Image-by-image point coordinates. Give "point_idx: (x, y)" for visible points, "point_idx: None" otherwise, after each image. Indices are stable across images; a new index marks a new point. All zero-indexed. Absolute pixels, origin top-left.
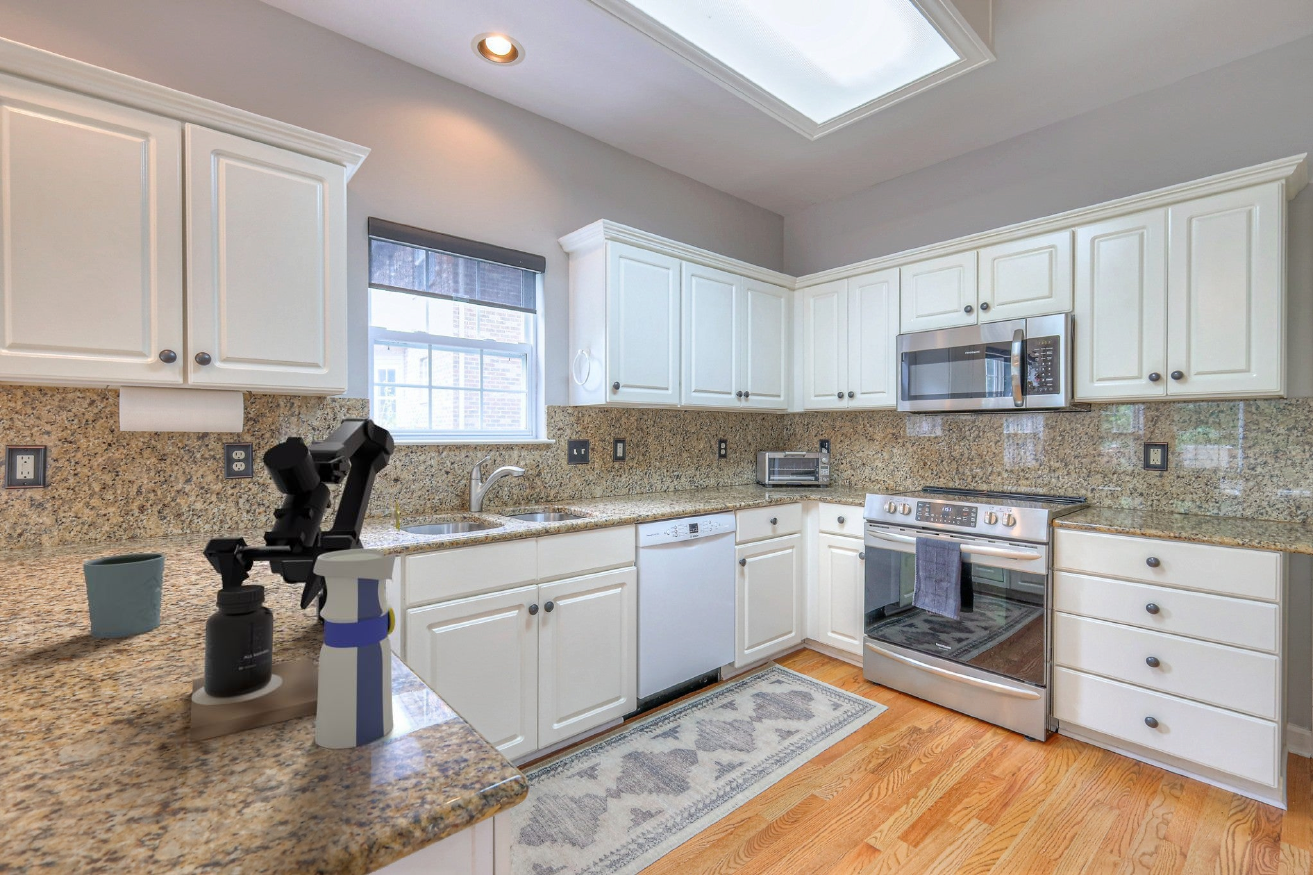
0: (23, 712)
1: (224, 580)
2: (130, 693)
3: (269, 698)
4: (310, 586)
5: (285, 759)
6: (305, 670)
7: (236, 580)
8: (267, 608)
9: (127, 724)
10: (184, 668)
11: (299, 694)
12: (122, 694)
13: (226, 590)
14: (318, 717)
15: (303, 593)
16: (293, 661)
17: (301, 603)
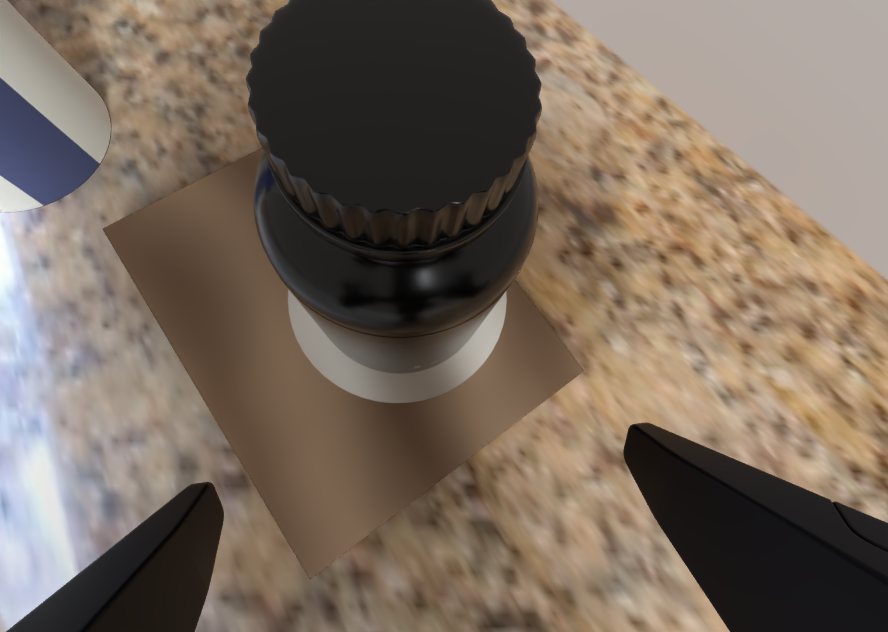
0: (851, 269)
1: (830, 509)
2: (722, 368)
3: None
4: (79, 577)
5: (138, 41)
6: (269, 442)
7: (798, 624)
8: (285, 230)
9: (572, 200)
10: None
11: (202, 253)
12: (736, 362)
13: (465, 31)
14: (51, 46)
15: (163, 528)
16: (357, 536)
17: (197, 488)
